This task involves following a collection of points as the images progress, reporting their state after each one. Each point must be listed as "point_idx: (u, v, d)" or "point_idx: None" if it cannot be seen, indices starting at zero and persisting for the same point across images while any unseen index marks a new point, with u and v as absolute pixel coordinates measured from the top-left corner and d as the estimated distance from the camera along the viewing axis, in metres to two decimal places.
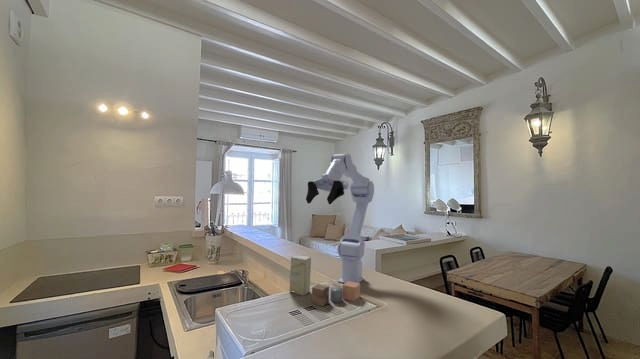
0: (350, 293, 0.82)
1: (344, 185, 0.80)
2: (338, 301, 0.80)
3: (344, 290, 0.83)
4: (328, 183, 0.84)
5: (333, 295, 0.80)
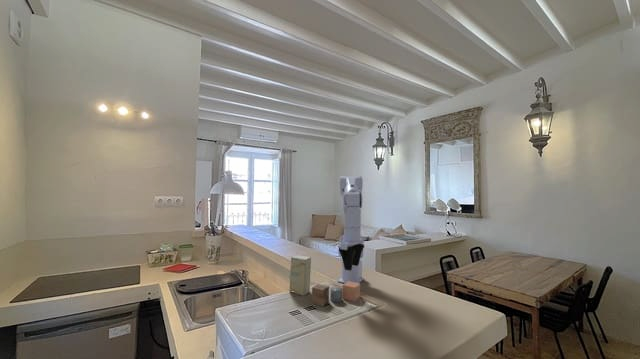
0: (350, 293, 0.82)
1: None
2: (338, 301, 0.80)
3: (344, 290, 0.83)
4: None
5: (333, 295, 0.80)
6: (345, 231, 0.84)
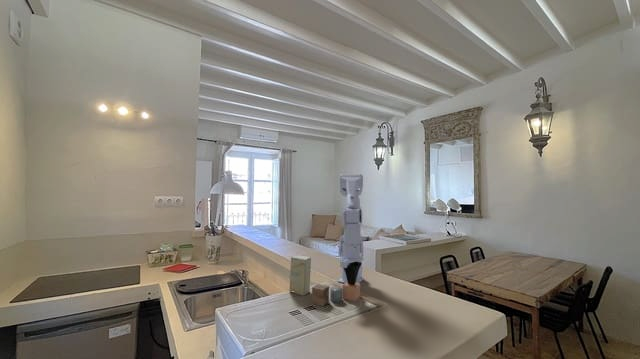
0: (350, 293, 0.82)
1: None
2: (338, 301, 0.80)
3: (344, 290, 0.83)
4: None
5: (333, 295, 0.80)
6: (345, 248, 0.84)
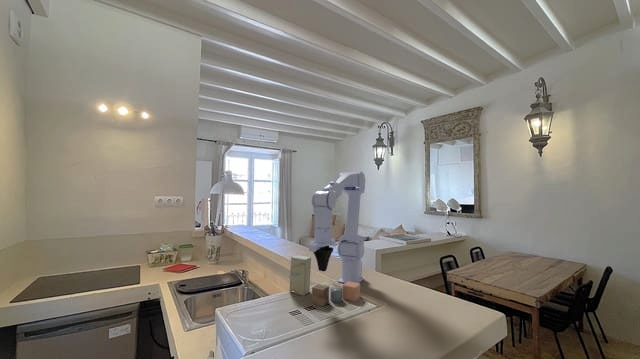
0: (350, 293, 0.82)
1: None
2: (338, 301, 0.80)
3: (344, 290, 0.83)
4: None
5: (333, 295, 0.80)
6: (315, 232, 0.80)
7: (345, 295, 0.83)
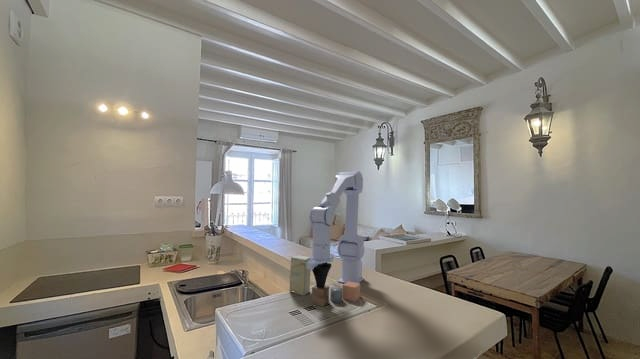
0: (350, 293, 0.82)
1: None
2: (338, 301, 0.80)
3: (344, 290, 0.83)
4: None
5: (333, 295, 0.80)
6: (313, 248, 0.79)
7: (345, 295, 0.83)
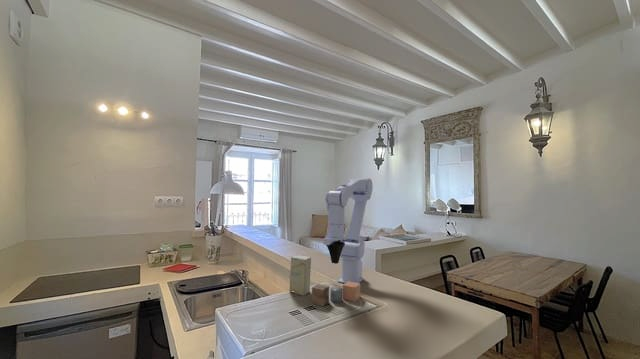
0: (350, 293, 0.82)
1: None
2: (338, 301, 0.80)
3: (344, 290, 0.83)
4: None
5: (333, 295, 0.80)
6: (329, 228, 0.88)
7: (345, 295, 0.83)
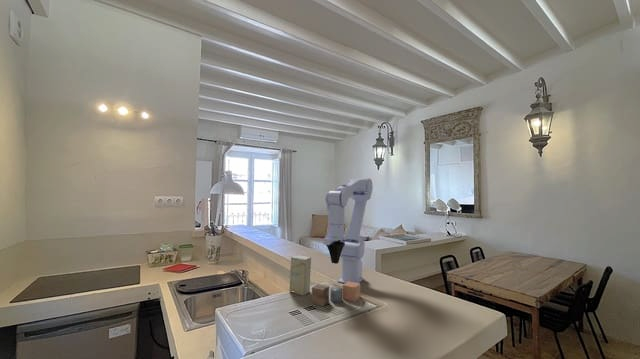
0: (350, 293, 0.82)
1: None
2: (338, 301, 0.80)
3: (344, 290, 0.83)
4: None
5: (333, 295, 0.80)
6: (329, 228, 0.88)
7: (345, 295, 0.83)
